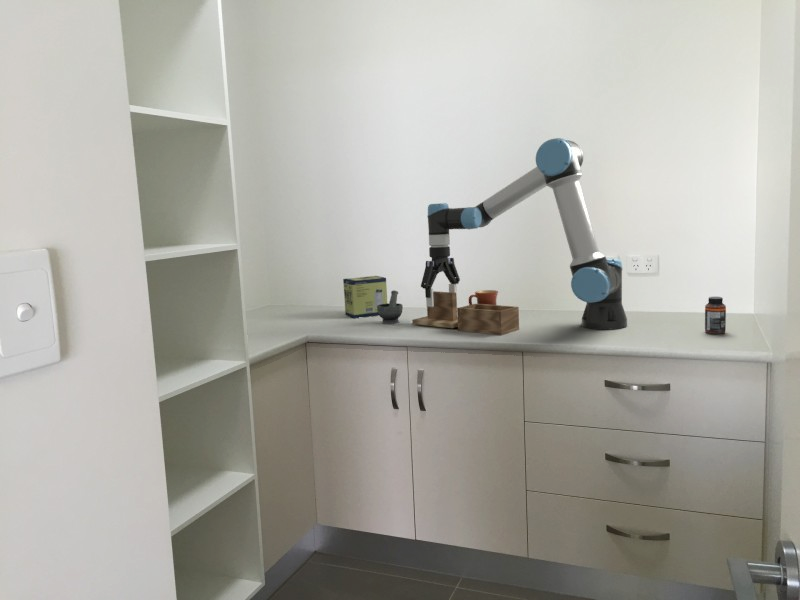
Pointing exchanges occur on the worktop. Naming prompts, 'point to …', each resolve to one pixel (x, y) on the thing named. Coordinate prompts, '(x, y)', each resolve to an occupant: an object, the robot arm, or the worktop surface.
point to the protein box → (364, 295)
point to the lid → (441, 311)
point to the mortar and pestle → (390, 310)
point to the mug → (485, 297)
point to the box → (488, 319)
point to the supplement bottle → (715, 316)
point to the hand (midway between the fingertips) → (441, 303)
